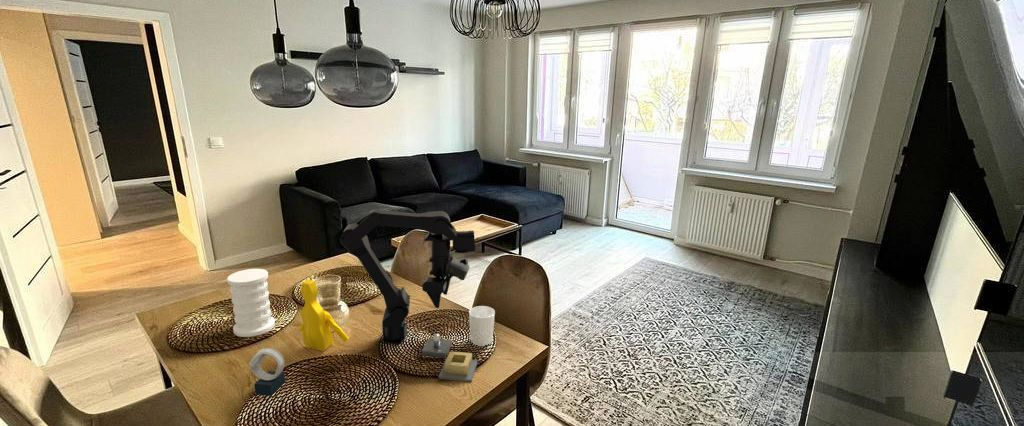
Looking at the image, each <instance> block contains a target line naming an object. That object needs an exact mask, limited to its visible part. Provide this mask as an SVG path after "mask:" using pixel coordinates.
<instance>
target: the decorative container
mask: <svg viewBox="0 0 1024 426" xmlns="http://www.w3.org/2000/svg"><path fill="white" fill-rule="evenodd" d="M268 278H269V272H268V271H267V270H266V269H264V268H248V269H247V268H246V269H242V270H239V271H235V272H233V273H231V274H229V275H228V276H227V279H226V280H227V284H228V285H229V286H230V293H231V295H232V297H231V303H232V304H233V306H232V307H233V308H232V311H233V313H234V321H235V324H234V325H233V326H232V327H233V328H232V333H233V334H234V335H235V336H237V337H240V338H242V337H243V338H250V337H255V336H257V337H258V336H260V335H263V334H266V333H268V332H269V331H271V330H272V329H273V328H274V327H275V325H276V321H275V320H276V319H275V318H274V317H273V316H272V310H271V308H270V306H271V302H270V291H269V290H268V287H269V283H268V281H267V279H268Z"/></svg>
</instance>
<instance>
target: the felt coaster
mask: <svg viewBox="0 0 1024 426" xmlns="http://www.w3.org/2000/svg"><path fill="white" fill-rule="evenodd" d="M445 362H446V360H445ZM445 362H444V364H445ZM477 362H478V363H479V361H478V360H476V359H472V365H471V368H470V371H469V374H468V376H458V375H447V374H444V364H443V365H442V369H441V371H440V373H439V375H438V379H440V380H449V381H460V382H470V383H472V382H473V377H474V375H475V373H476V368H477V366H478V363H477Z"/></svg>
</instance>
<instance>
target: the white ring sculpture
mask: <svg viewBox="0 0 1024 426" xmlns="http://www.w3.org/2000/svg"><path fill="white" fill-rule="evenodd" d="M267 356H270V357H271V358H273V359H274V360H275V361H276V363H277V367H276V370H267V371H264V370H263V368H261V364H262V363H263V361H264V360H265V358H266V357H267ZM285 364H286V362H285V358H284V356H283V355H282V353H280V351H279V350H277V349H275V348H273V347H265V348H261V349H259V351H257V352H256V353H255V354H254V355H253V356H252V358H251V360H250V362H249V363H248V367H250V371H251V372H252V373H253V374H254V376H256V377H257V378H258V380H257V381H255V383H254V391H255V395H256V396H265V397H266V396H267V397H273V396H274V395H275V394H276V393H277V392H278V391H279V390H280V389H281V388H282V387H283V386H284V385H285V384H286V383H285V382H286V376H285V372H284V371H283V370H284V369H285ZM284 383H285V384H284ZM283 384H284V385H283ZM282 385H283V386H282ZM281 386H282V387H281ZM280 387H281V388H280ZM279 388H280V389H279ZM278 389H279V390H278ZM277 390H278V391H277ZM276 391H277V392H276ZM275 392H276V393H275ZM274 393H275V394H274ZM273 394H274V395H273ZM272 395H273V396H272Z"/></svg>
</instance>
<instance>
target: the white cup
mask: <svg viewBox="0 0 1024 426" xmlns="http://www.w3.org/2000/svg"><path fill="white" fill-rule="evenodd" d="M495 315H496V311H495V309H494V308H492V307H491V306H486V305H478V306H474V307H472V308H470V309H469V311H468V319H469V334H470V342H472V343H473V344H472V343H471V344H472V345H474V344H475V345H474V346H476V345H478V346H477V347H486V346H485V345H487V346H489V345H491V344H490V343H492V342H493V338H494V337H493V335H494V326H495ZM488 344H489V345H488Z"/></svg>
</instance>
